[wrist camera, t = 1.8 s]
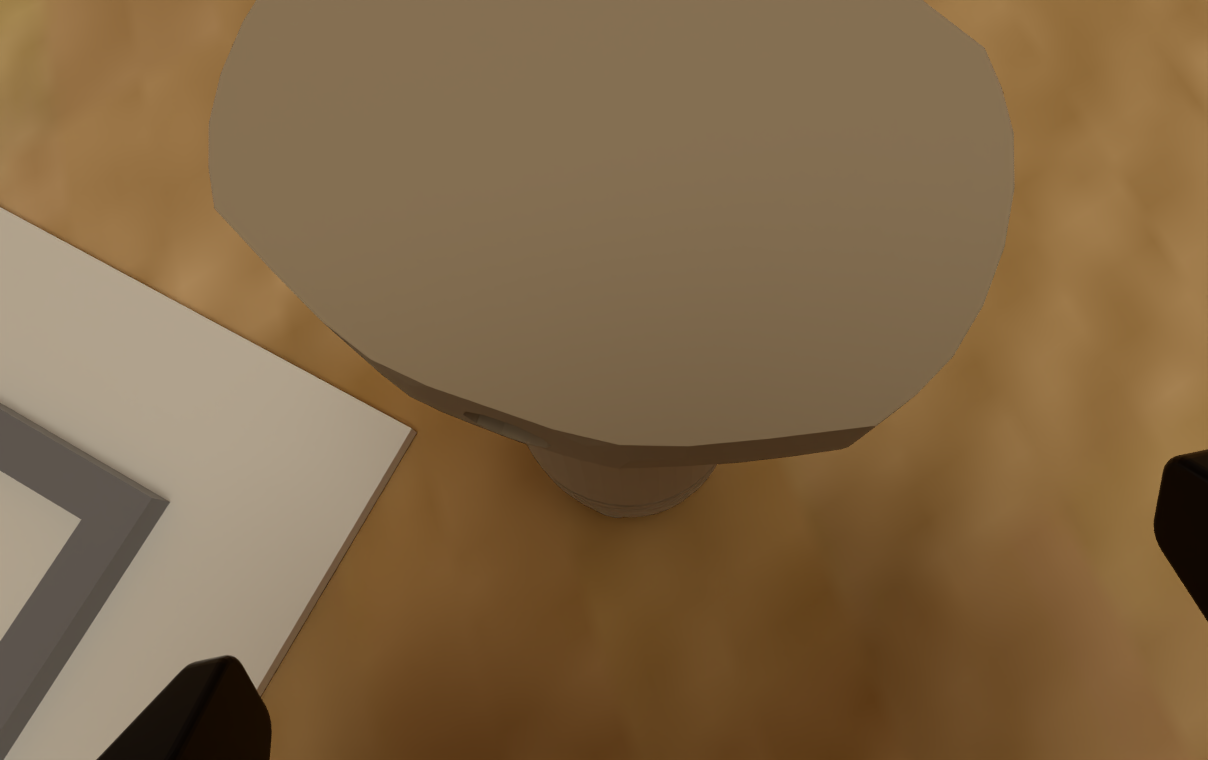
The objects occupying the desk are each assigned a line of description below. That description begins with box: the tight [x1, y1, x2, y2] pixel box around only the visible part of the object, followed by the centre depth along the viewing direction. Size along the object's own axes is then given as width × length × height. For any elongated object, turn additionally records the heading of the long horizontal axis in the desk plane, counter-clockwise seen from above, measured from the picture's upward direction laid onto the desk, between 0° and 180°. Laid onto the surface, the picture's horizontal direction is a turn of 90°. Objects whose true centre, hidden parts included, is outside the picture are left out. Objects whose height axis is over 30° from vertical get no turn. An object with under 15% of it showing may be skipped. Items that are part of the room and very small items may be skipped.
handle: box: [209, 0, 1014, 518], centre depth 14 cm, size 5×6×15 cm
